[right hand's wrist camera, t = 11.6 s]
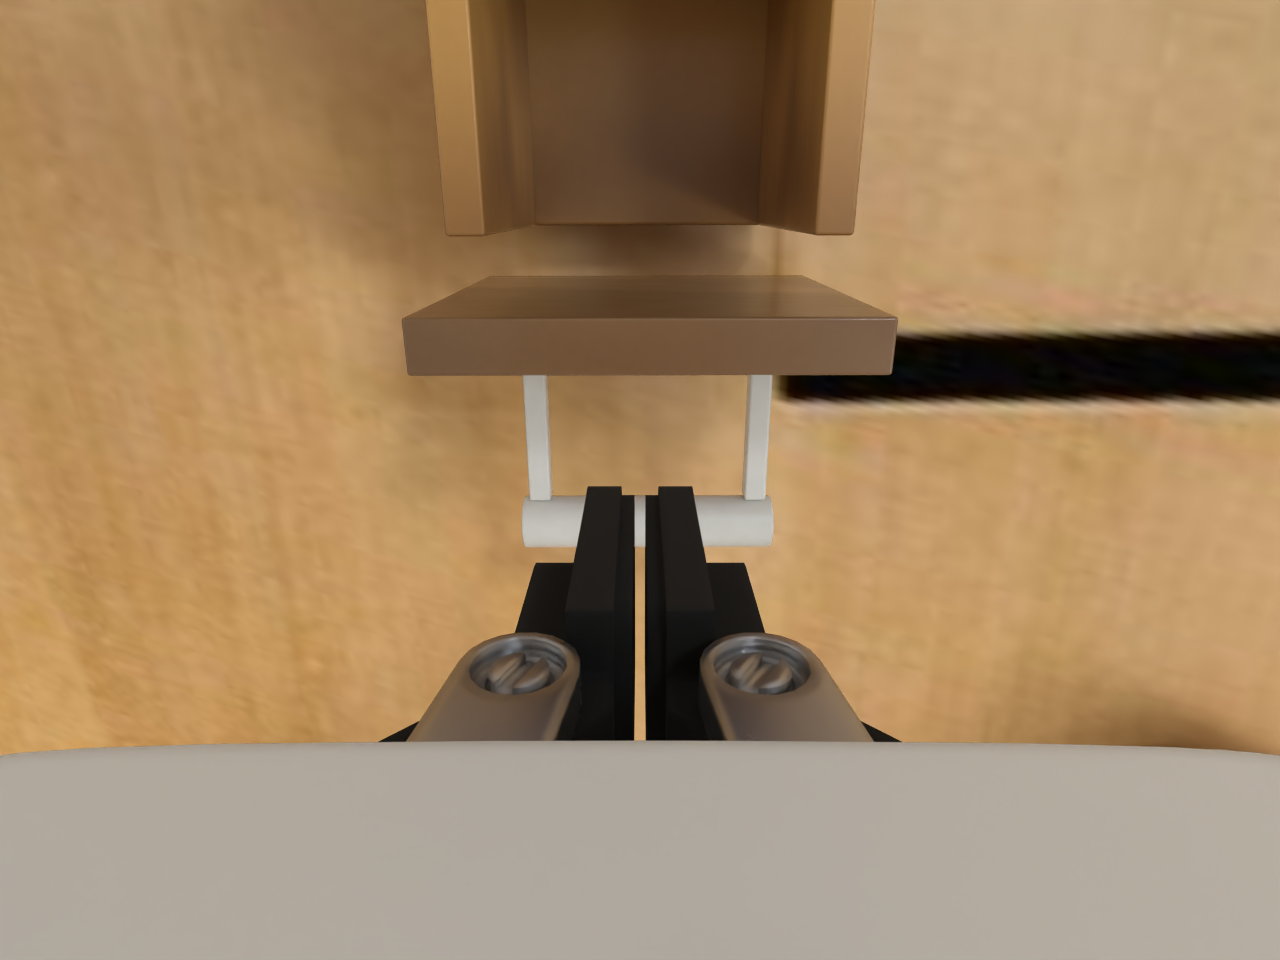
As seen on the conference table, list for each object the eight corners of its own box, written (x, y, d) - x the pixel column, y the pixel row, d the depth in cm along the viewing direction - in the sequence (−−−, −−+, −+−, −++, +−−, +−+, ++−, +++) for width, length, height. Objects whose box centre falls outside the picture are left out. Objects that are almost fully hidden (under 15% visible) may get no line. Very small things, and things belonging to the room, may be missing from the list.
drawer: (788, 486, 27) (863, 627, 18) (503, 486, 27) (435, 628, 18) (864, -574, 17) (1095, -1378, 9) (429, -572, 17) (212, -1374, 9)
